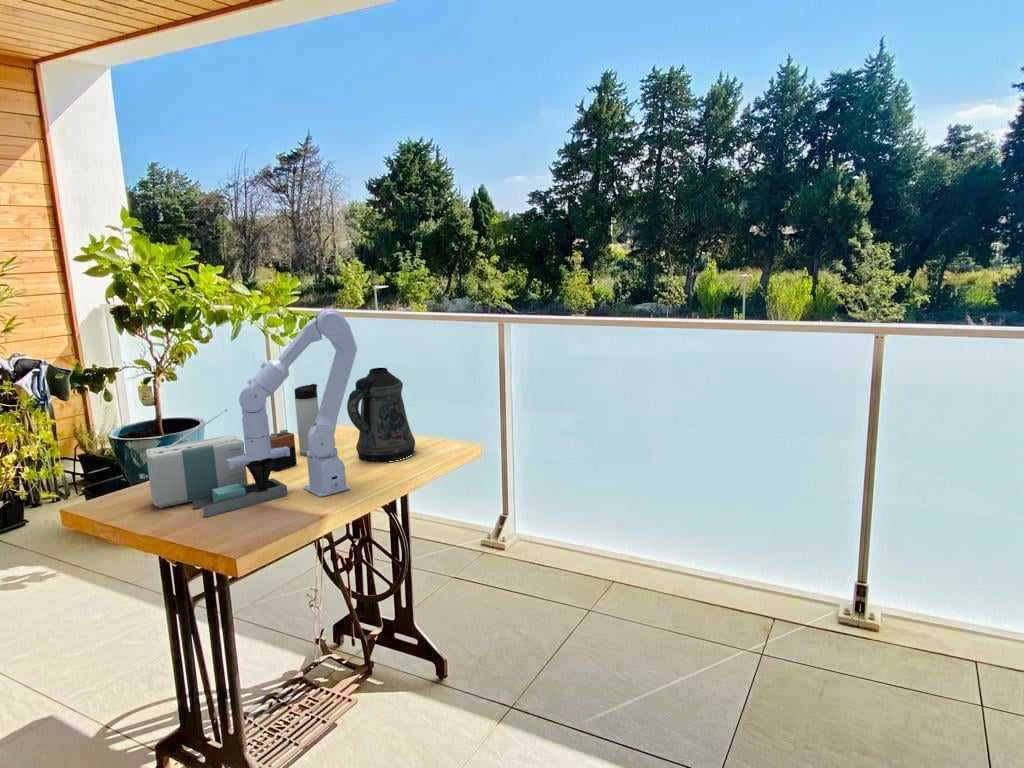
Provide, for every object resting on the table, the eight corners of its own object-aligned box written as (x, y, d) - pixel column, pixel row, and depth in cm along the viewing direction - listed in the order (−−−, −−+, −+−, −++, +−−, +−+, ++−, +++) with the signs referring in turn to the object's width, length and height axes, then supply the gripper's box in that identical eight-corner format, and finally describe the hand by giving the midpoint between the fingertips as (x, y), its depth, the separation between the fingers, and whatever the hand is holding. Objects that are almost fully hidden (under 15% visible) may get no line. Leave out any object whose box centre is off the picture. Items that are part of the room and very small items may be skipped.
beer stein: (422, 447, 206) (417, 363, 201) (403, 467, 187) (397, 375, 182) (368, 446, 208) (362, 363, 203) (344, 466, 189) (337, 375, 184)
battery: (297, 465, 192) (294, 430, 190) (277, 472, 186) (273, 435, 184) (287, 463, 194) (284, 428, 192) (266, 469, 188) (263, 433, 187)
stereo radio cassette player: (155, 512, 159) (144, 427, 156) (149, 502, 166) (139, 420, 162) (249, 491, 171) (241, 412, 167) (240, 483, 178) (232, 407, 174)
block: (247, 504, 162) (245, 488, 162) (220, 511, 159) (218, 494, 158) (239, 499, 166) (238, 483, 165) (213, 505, 162) (211, 489, 162)
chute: (273, 487, 173) (272, 478, 173) (287, 495, 167) (286, 485, 167) (193, 508, 161) (191, 497, 160) (205, 517, 155) (203, 506, 154)
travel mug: (327, 452, 203) (321, 385, 200) (307, 457, 199) (301, 388, 195) (315, 448, 207) (309, 382, 204) (295, 453, 203) (289, 386, 199)
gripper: (279, 427, 172) (284, 479, 175) (219, 438, 163) (225, 494, 165) (291, 431, 167) (296, 486, 170) (230, 444, 158) (236, 501, 160)
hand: (262, 490), depth 167 cm, fingers closed
